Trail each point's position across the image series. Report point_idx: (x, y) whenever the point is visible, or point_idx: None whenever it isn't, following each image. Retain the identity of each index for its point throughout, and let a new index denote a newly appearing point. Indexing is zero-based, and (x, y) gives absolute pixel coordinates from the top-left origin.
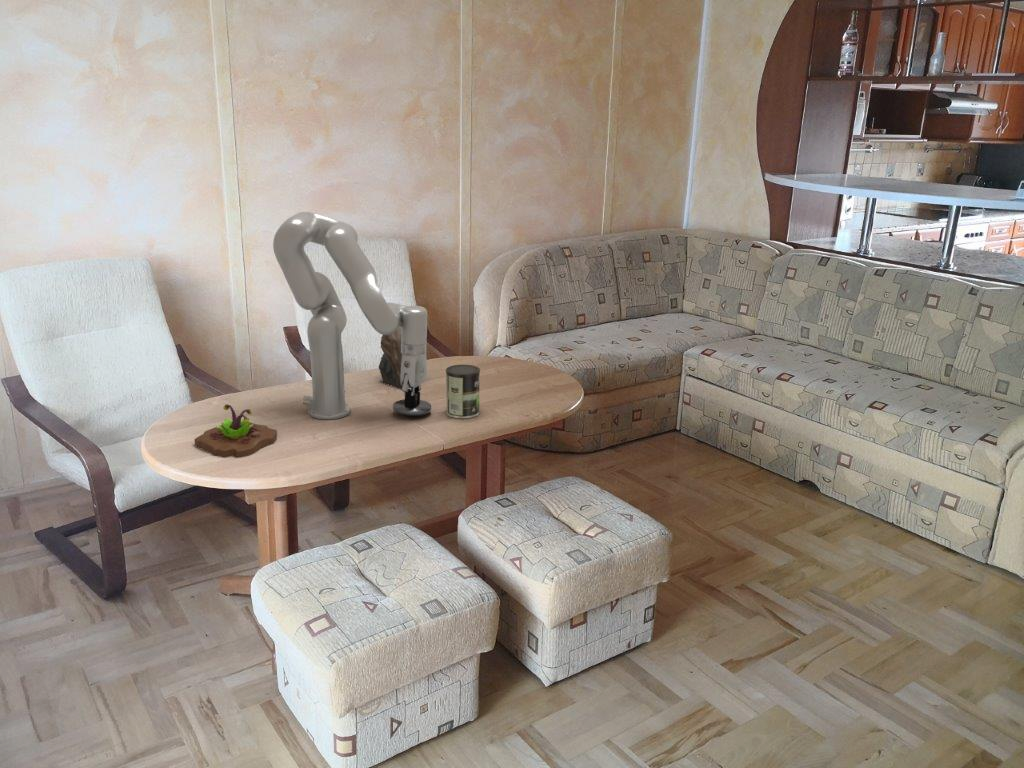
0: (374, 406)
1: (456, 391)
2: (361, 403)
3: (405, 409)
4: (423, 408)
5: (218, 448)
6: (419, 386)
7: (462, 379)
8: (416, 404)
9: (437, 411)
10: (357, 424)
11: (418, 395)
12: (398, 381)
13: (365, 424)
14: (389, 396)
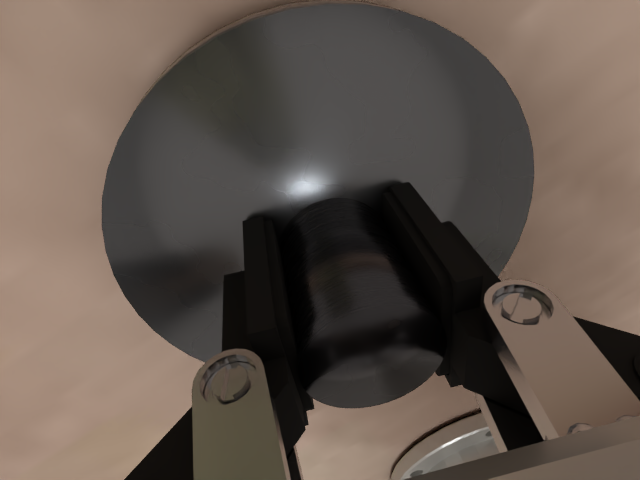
0: (318, 417)
1: None
2: (314, 462)
3: (471, 224)
4: (345, 89)
5: None
6: (257, 437)
7: None
8: (337, 210)
9: (65, 8)
10: (597, 319)
11: (285, 295)
12: None
13: (594, 294)
14: (127, 465)
